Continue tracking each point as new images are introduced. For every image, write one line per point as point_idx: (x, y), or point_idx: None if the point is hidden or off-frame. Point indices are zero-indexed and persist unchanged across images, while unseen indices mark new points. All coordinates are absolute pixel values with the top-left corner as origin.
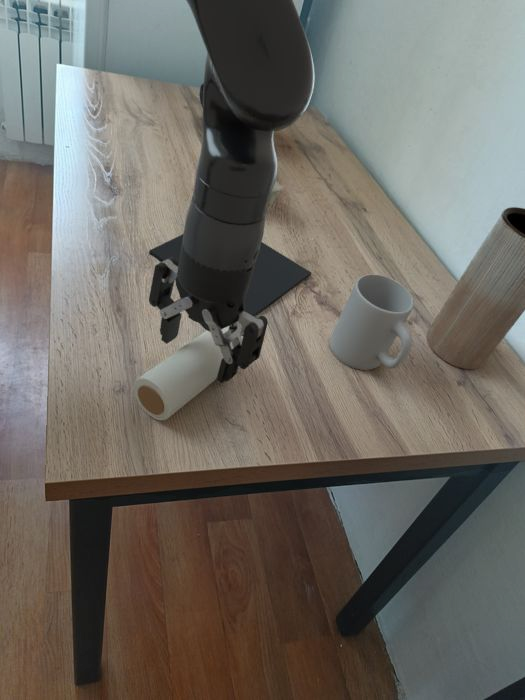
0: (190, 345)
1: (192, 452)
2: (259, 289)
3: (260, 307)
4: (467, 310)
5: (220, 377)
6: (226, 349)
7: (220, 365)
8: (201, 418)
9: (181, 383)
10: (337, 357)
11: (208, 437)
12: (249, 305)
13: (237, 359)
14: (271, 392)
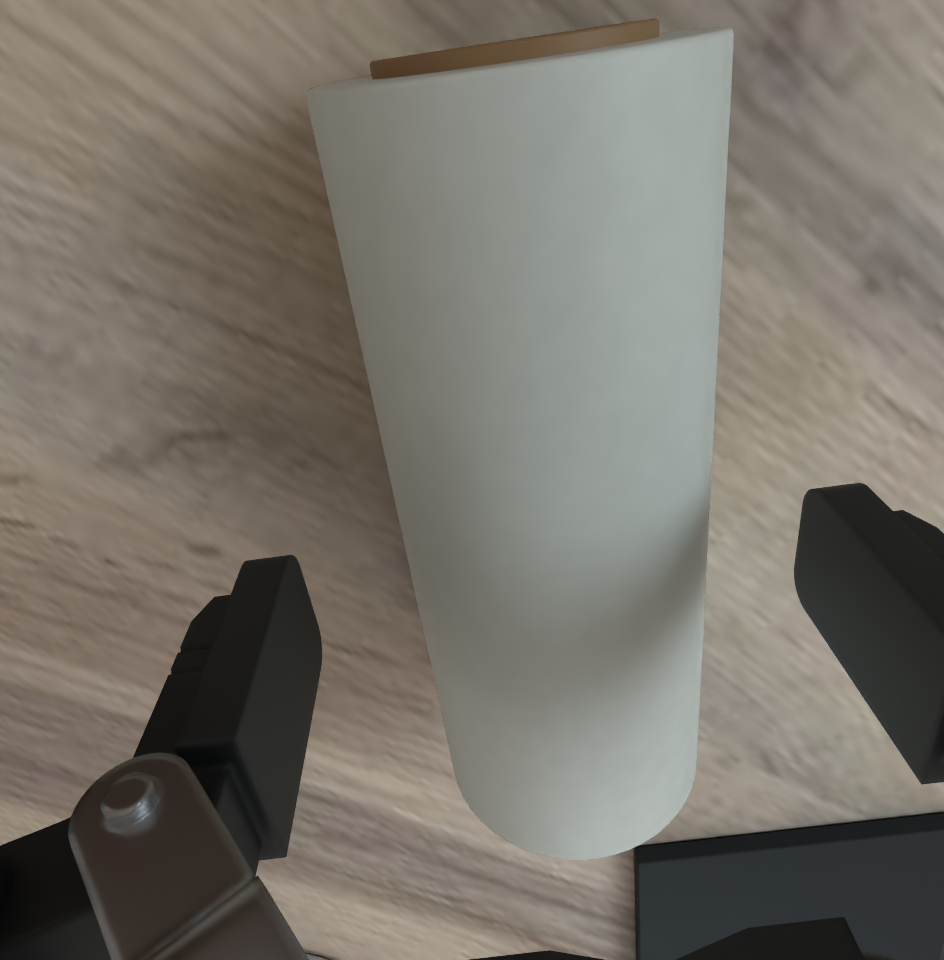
0: (661, 608)
1: (89, 97)
2: None
3: (649, 915)
4: None
5: (249, 591)
6: (141, 916)
7: (245, 677)
8: (293, 328)
9: (411, 320)
10: None
11: (151, 268)
12: (690, 895)
13: (53, 873)
14: None
